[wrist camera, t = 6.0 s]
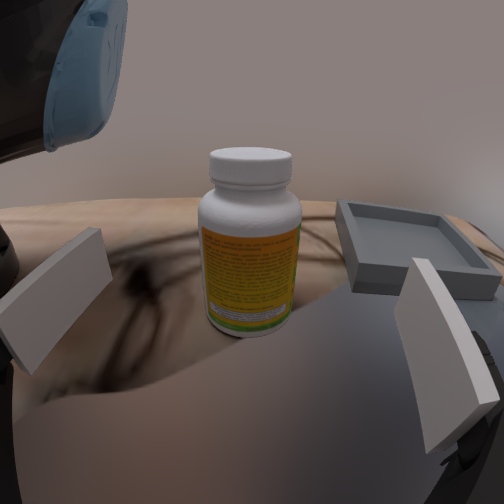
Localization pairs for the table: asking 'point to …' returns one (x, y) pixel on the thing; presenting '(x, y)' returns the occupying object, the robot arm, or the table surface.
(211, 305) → the supplement bottle
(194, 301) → the table surface
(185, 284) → the table surface
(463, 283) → the grey tray
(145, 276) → the table surface
